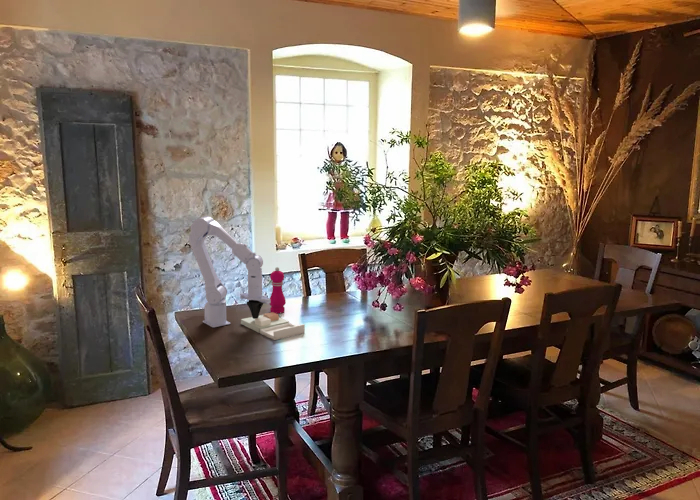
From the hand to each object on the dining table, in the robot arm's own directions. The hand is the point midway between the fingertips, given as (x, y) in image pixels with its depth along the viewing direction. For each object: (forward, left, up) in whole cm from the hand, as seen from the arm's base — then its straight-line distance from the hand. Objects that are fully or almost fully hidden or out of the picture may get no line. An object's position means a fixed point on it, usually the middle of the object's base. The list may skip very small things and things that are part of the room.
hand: (255, 318), depth 228 cm
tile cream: (+6, 0, -1) cm, 6 cm away
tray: (+15, +3, -3) cm, 16 cm away
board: (+2, +3, -3) cm, 5 cm away
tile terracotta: (+2, +6, -1) cm, 6 cm away
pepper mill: (-11, +17, -3) cm, 21 cm away
